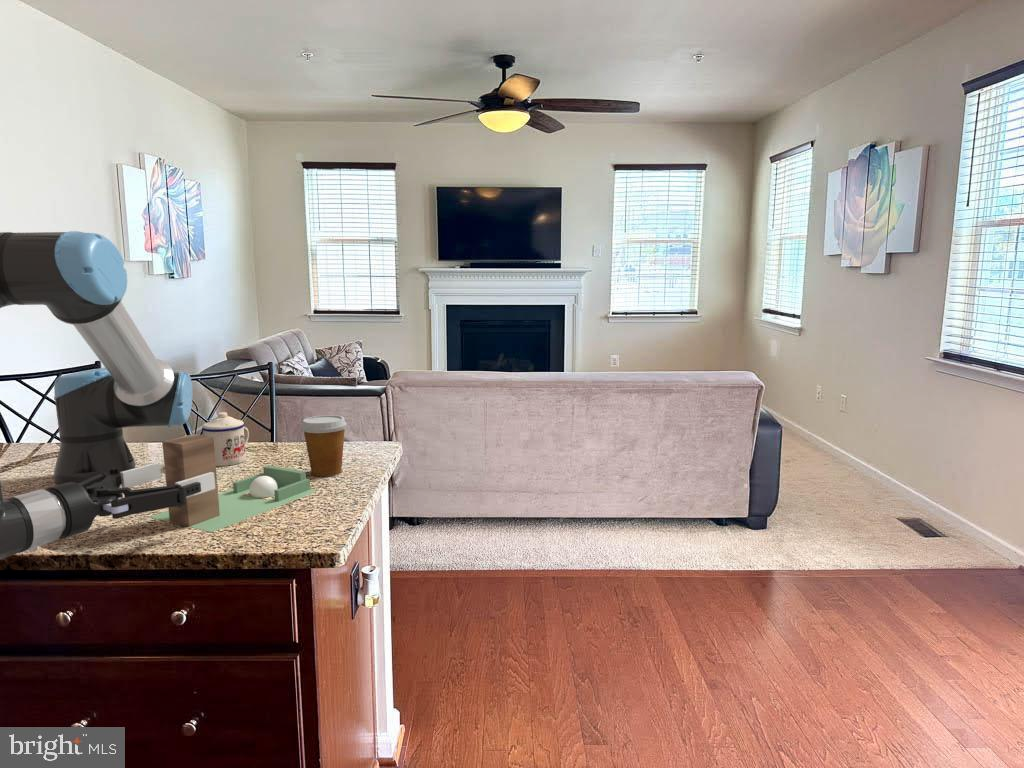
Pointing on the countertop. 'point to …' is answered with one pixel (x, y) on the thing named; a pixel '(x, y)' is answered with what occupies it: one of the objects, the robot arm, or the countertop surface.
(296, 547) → the countertop surface
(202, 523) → the pad
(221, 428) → the teacup with lid
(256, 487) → the ball
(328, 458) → the disposable coffee cup
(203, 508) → the walnut block
